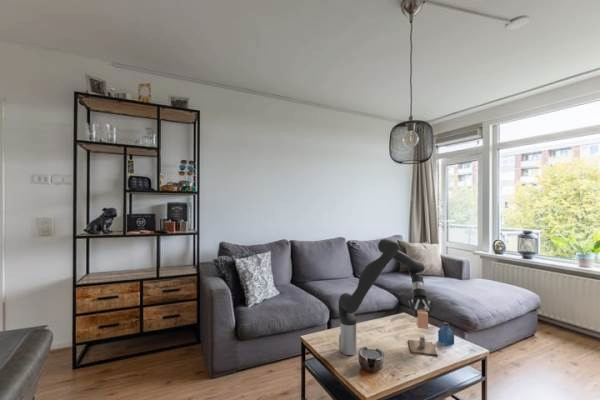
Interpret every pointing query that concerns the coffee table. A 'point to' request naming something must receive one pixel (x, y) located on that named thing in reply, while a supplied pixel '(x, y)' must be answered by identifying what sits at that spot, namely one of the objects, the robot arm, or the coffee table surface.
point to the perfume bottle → (446, 334)
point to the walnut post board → (422, 347)
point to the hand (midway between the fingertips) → (422, 317)
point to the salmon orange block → (422, 319)
